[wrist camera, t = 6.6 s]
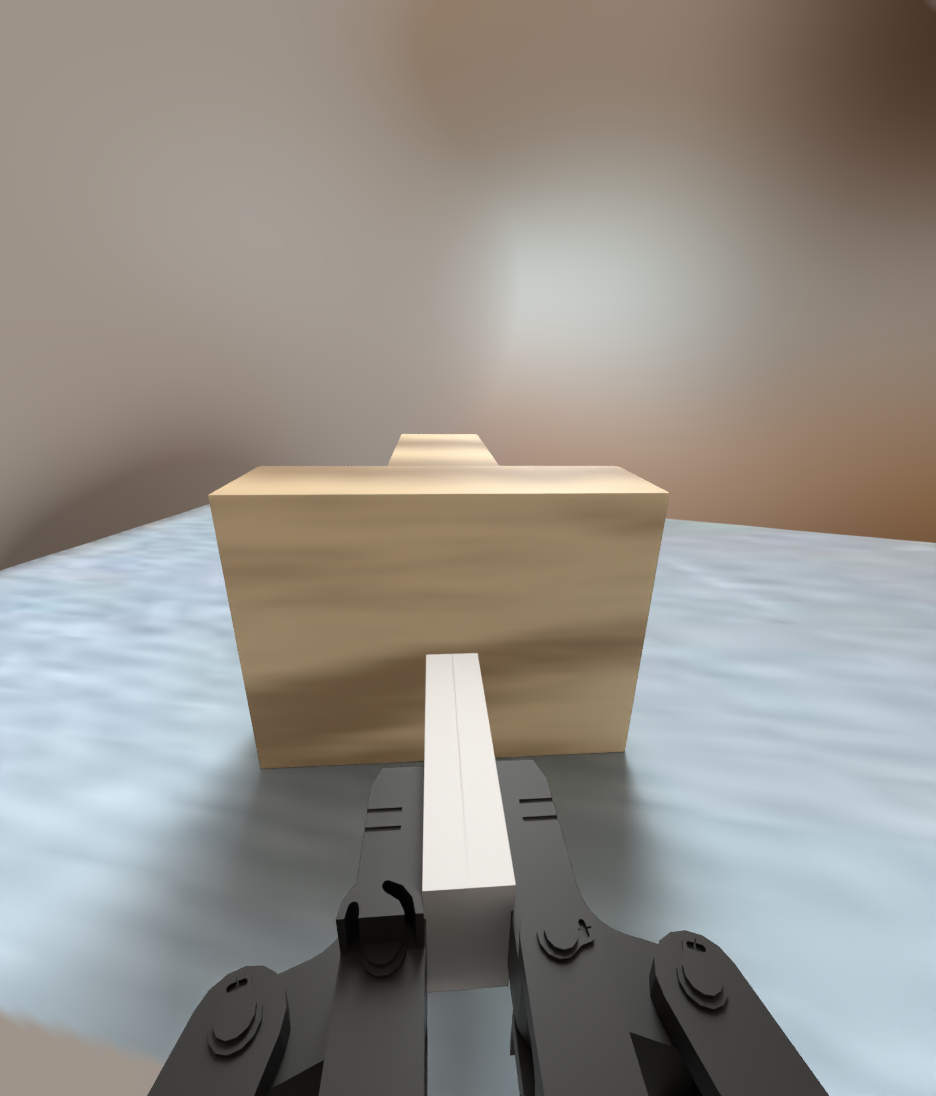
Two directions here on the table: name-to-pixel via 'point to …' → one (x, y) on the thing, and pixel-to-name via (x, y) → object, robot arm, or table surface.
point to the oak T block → (437, 599)
